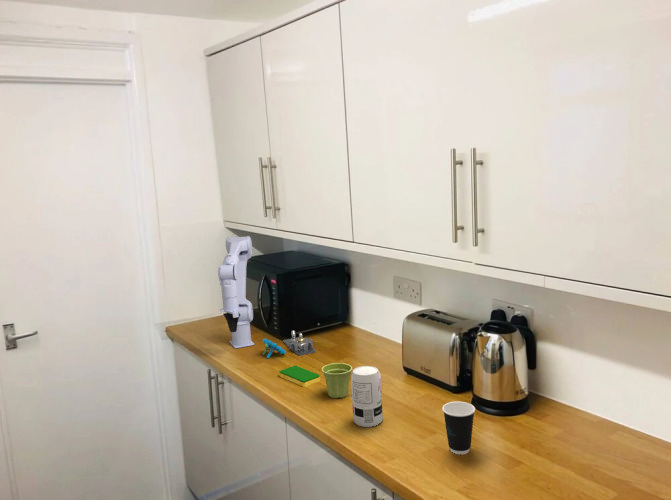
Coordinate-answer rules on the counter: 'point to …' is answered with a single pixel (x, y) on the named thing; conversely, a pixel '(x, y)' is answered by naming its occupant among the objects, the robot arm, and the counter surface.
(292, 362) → the counter surface
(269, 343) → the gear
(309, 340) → the gear board
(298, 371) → the dish sponge
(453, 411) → the dixie cup
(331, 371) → the plant pot
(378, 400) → the supplement can
